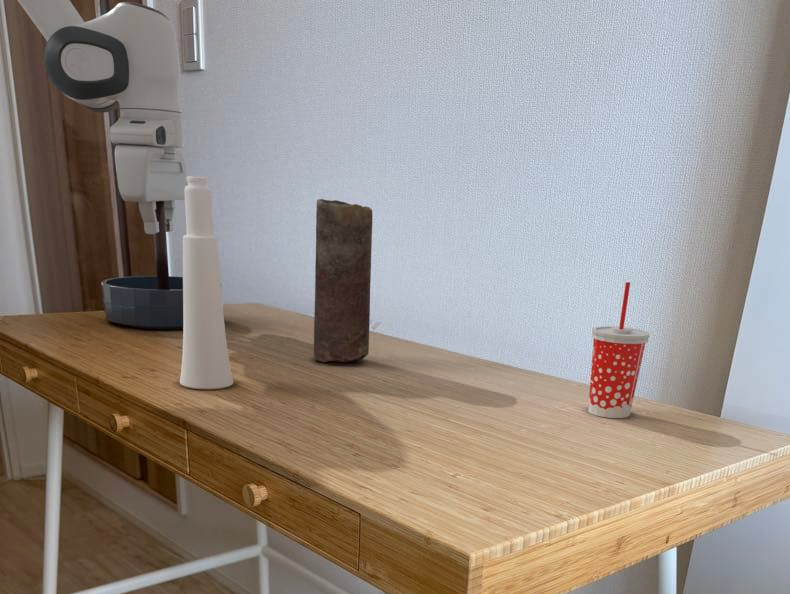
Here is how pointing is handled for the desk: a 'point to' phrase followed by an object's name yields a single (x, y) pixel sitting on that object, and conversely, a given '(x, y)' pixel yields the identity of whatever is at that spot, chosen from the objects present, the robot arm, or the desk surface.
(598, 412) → the beverage cup
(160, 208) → the ladle
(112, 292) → the bowl
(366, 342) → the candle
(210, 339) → the cosmetic bottle
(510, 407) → the desk surface
